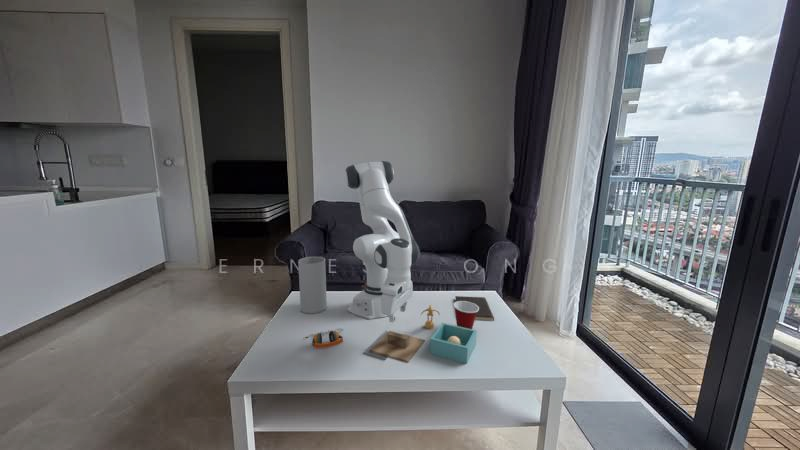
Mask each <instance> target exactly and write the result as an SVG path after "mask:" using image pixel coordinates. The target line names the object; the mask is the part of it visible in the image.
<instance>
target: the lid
mask: <svg viewBox="0 0 800 450" xmlns="http://www.w3.org/2000/svg"><path fill="white" fill-rule="evenodd" d="M425 342H426V340H425V339H424V338H419V337H415V336H413V335H412V336H411V335H407V334H403V333H400V332H395V331H393V330H392V331H391V330H389V331H388V333H387V334H386V335H385V336H384V337H383V338H381V339H380V340H379V341H378V342H377V343H376V344H375V345H374V346H373V347H372V348H371V349H370V352H371V353H375V354H378V355H381V356H385V357H387V358H391V359H395V360H398V361H401V362H404V363H405V362H406V363H409V362H410V361H411V360H412V359H413V357H414V356H415V354H416V353H417V352H418V351H419V349H420V348H421V347H423V344H424V343H425Z"/></svg>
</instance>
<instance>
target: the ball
mask: <svg viewBox="0 0 800 450" xmlns="http://www.w3.org/2000/svg"><path fill="white" fill-rule="evenodd" d="M447 342H451V343H455V344H459V345H460V344H461V343H460V340H459V338H458V337H456V336H451V337H450V338H449V339H448V341H447Z"/></svg>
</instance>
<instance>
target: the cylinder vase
mask: <svg viewBox="0 0 800 450" xmlns="http://www.w3.org/2000/svg"><path fill="white" fill-rule="evenodd" d="M297 263H298V278H299V279H298V280H299V281H298V282H299V283H298V284H299V285H298V286H299V298H300V299H299V303H300V304H299V305H300V311H301V312H303V313H304V314H309V315H311V314H318V313H322V312H324V311H326V309H327V307H328V303H327V276H326V275H327V274H326V271H327V270H326V269H327V268H326V258H325V257H323V256H307V257H303V258H300V259H298V262H297Z"/></svg>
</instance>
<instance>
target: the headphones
mask: <svg viewBox="0 0 800 450" xmlns="http://www.w3.org/2000/svg"><path fill="white" fill-rule="evenodd" d="M337 330H338V331H337ZM342 331H344V329H343V328H340V331H339V328H336V329H335V330H328V332H326V331H324V332H323V331H320V332H317V333H315V334H313V333H312V334H309V335H308V336H304V339H308V338H310V337H311V336H313V338H312V347H313V348H315V349H324V348H330V347H335V346H338V345H340V344H342V343H343V341H344V339H343V336H342V335H340V334H339V333H341V332H342ZM327 335H328V340H329V342H326V343H325V342H324V343H323V337H324V336H327Z"/></svg>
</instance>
